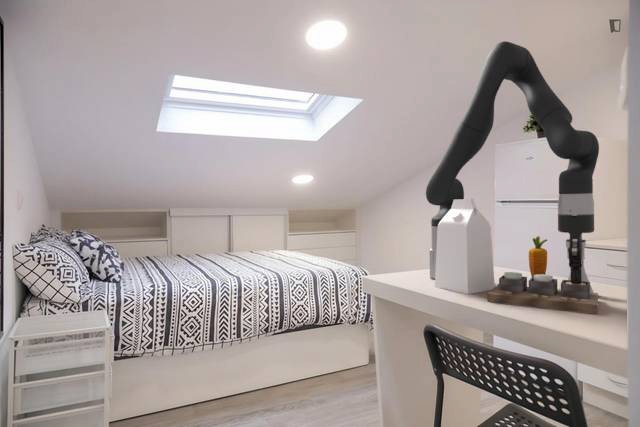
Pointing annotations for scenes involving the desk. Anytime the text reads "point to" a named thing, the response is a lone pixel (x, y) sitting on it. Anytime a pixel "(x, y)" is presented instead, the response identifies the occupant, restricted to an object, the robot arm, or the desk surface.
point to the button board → (545, 295)
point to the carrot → (538, 258)
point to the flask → (583, 276)
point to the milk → (464, 250)
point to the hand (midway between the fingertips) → (576, 283)
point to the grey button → (543, 278)
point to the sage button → (513, 275)
